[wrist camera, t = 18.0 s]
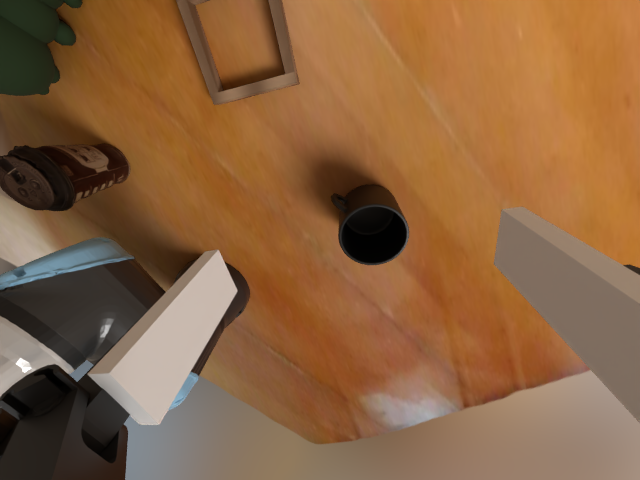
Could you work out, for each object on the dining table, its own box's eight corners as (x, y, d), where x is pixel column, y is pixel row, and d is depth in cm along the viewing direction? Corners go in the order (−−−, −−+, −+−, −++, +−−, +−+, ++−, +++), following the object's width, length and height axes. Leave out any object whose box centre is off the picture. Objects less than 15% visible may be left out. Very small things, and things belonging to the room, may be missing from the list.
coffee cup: (81, 128, 39) (-28, 137, 28) (133, 142, 39) (46, 157, 28) (92, 180, 43) (2, 207, 32) (139, 193, 43) (66, 224, 32)
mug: (351, 161, 37) (352, 177, 30) (409, 206, 40) (424, 231, 32) (316, 207, 42) (309, 232, 34) (371, 245, 44) (376, 276, 36)
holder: (220, 104, 35) (213, 104, 34) (182, -5, 30) (171, -12, 28) (299, 83, 33) (296, 82, 31) (273, -38, 28) (268, -48, 26)
